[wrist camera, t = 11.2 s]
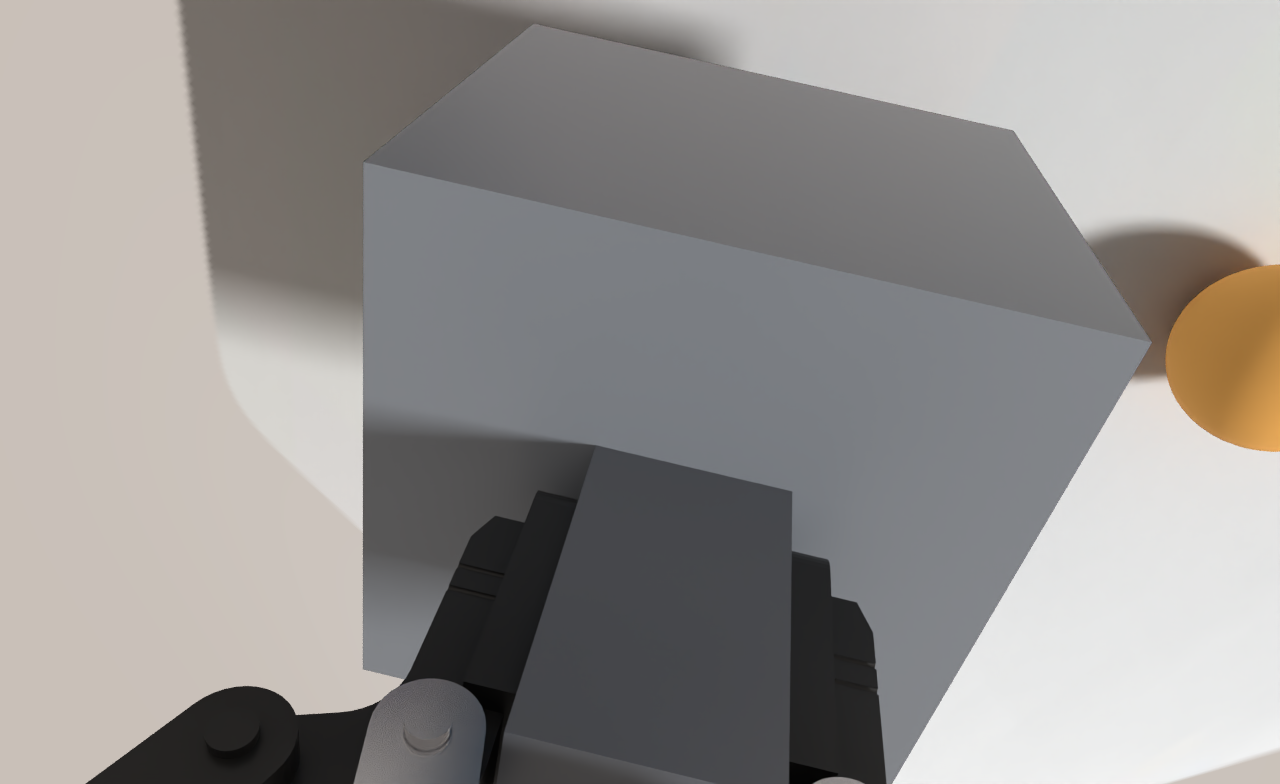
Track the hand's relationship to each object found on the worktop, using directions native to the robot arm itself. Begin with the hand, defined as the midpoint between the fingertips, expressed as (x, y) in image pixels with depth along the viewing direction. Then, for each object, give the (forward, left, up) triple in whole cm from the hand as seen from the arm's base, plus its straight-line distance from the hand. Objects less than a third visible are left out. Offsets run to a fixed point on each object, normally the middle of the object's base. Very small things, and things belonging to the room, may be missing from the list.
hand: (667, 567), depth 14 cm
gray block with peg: (0, 0, -10) cm, 10 cm away
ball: (0, +15, -13) cm, 20 cm away
